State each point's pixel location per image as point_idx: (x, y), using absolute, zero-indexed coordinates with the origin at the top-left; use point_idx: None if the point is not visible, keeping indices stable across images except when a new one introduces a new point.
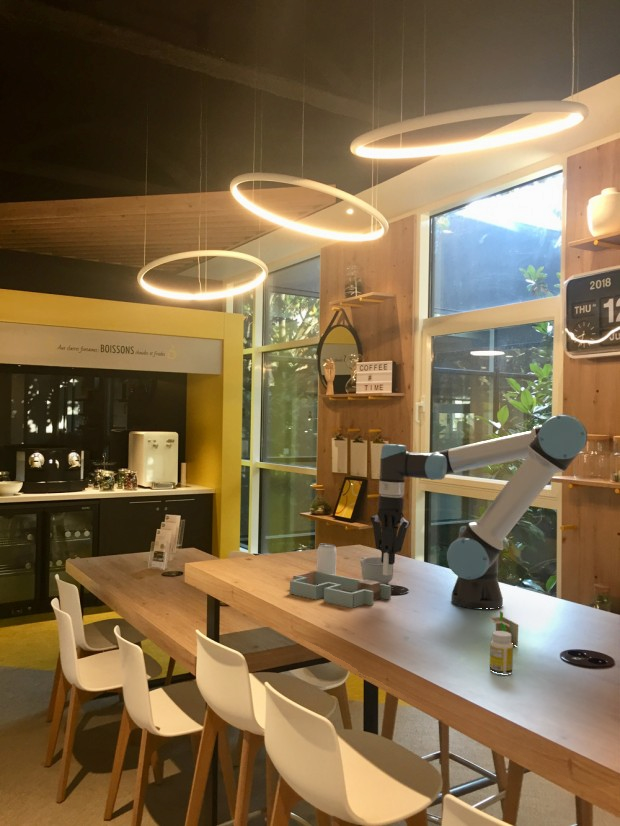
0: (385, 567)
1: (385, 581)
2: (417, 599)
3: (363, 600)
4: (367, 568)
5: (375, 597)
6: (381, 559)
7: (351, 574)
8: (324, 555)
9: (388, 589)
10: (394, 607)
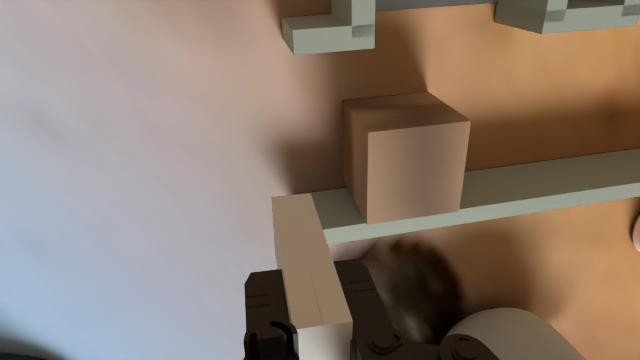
0: (295, 230)
1: None
2: (210, 296)
3: (336, 8)
4: (542, 346)
5: (345, 147)
6: (370, 277)
7: (609, 354)
8: None
9: None
10: (170, 94)
